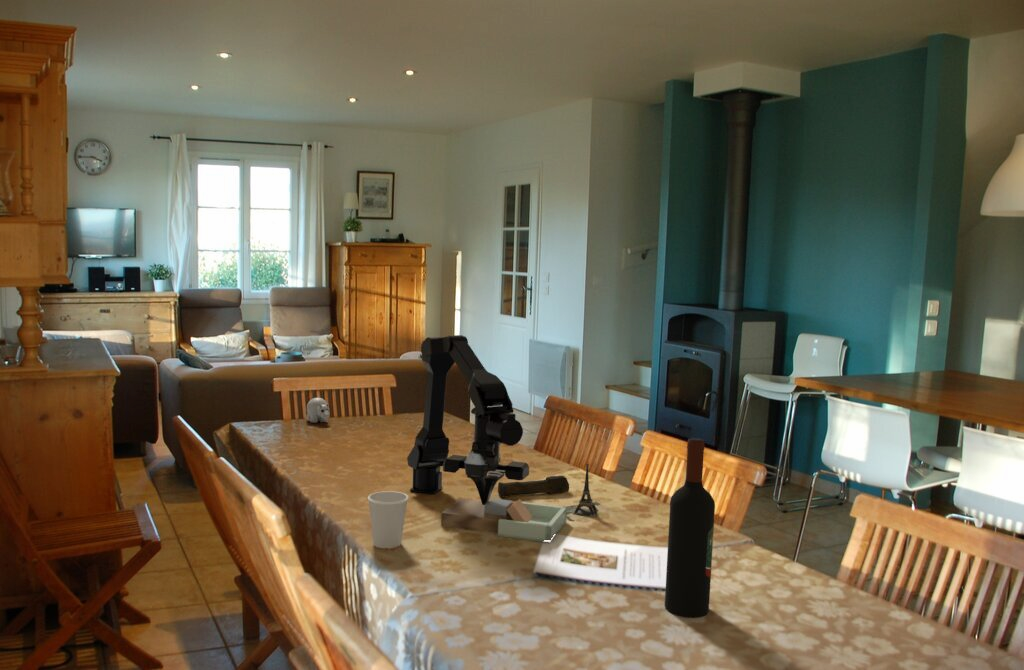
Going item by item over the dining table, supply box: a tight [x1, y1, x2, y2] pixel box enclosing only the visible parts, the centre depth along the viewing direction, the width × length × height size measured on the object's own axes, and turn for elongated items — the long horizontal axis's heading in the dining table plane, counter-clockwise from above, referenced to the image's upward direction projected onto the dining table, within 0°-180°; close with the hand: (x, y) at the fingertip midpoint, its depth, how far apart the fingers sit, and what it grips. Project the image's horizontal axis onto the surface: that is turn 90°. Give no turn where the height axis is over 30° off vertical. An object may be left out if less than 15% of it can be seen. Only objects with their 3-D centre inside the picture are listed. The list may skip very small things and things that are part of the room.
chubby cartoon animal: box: [306, 397, 331, 424], centre depth 294 cm, size 7×12×8 cm, turn 34°
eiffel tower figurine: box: [566, 462, 601, 522], centre depth 203 cm, size 15×10×13 cm
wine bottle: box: [664, 437, 716, 619], centre depth 148 cm, size 8×8×30 cm
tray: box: [497, 501, 567, 543], centre depth 189 cm, size 12×15×4 cm
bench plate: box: [440, 498, 513, 535], centre depth 192 cm, size 14×12×3 cm
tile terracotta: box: [507, 498, 533, 522], centre depth 190 cm, size 5×5×2 cm
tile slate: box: [484, 498, 514, 516], centre depth 191 cm, size 5×5×2 cm
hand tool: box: [497, 475, 570, 499], centre depth 216 cm, size 19×4×5 cm, turn 108°
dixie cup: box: [367, 490, 409, 549], centre depth 176 cm, size 8×8×10 cm
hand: (484, 504), depth 192 cm, fingers closed
